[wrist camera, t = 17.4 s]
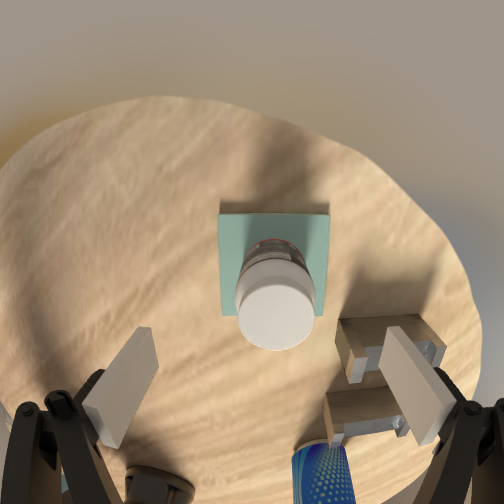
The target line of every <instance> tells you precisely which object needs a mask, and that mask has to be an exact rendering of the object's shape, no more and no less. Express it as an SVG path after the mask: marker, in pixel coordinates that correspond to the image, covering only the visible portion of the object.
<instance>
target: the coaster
mask: <svg viewBox="0 0 504 504" xmlns="http://www.w3.org/2000/svg"><path fill="white" fill-rule="evenodd" d="M217 217H218V244H219V266H220V286H221V303H222V315H223V316H238V312H237V309H236V306H235V289H236V285H237V281H238V278H239V274H240V270H241V267H242V263H243V260H244V257H245V255H246V254H247V252H248V251H249V249H250V248H251V247H252V246H254V245H255V244H256V243H258V242H260V241H262V240H265V239H271V238H277V239H282V240H285V241H288V242H290V243H291V244H293V245H294V246H295V247H296V248H297V249H298V250H299V251H300V253H301V254H302V256H303V258H304V260H305V263H306V266H307V268H308V271H309V273H310V276H311V278H312V281H313V283H314V287H315V293H316V300H315V306H314V311H315V316H323V307H324V297H325V286H326V274H327V261H328V245H329V227H330V215H329V214H315V213H219V214H218V215H217Z"/></svg>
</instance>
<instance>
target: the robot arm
mask: <svg viewBox="0 0 504 504" xmlns="http://www.w3.org/2000/svg"><path fill="white" fill-rule="evenodd" d="M378 367H379V368H380V370H381V372H382V374H383V376H384V378H385V380H386V381H387V383H388V385H389V387H390V389H391V391H392V393H393V395H394V397H395V399H396V401H397V403H398V405H399V406H400V408H401V410H402V412H403V414H404V416H405V418H406V420H407V422H408V424H409V426H410V429H411V431H412V433H413V435H414V437H415V439H416V441H417V443H418V445H419V446H423V445H426V444H429V443H432V442H433V441H434V439H435V438H436V436H437V435H439V437H440V439H441V440H440V441H439V443H438V444H437V446H436V447H435V449H434V450H433V452H432V454H434V456H433V459H432V461H431V464H430V466H429V469H428V472H427V474H426V476H425V478H424V481H423V483H422V485H421V487H420V490H419V492H418V494H417V496H416V498H415V500H414V502H413V504H464V500H465V498H466V494H467V491H468V488H469V484H470V481H471V477H472V497H471V504H504V398H500V399H499V400H497V402H496V404H495V405H494V407H486V408H483V407H482V406H481V405H480V404H479V403H478V402H475V401H470V400H469V401H467V400H466V399H465V397H464V396H463V395H462V393H461V392H460V391H459V389H458V388H457V387H456V385H455V384H453V382H452V380H451V379H450V378H449V376H448V375H447V374H446V373H445V371H443V370H442V369H440V368H439V367H433V368H432V367H431V365H430V364H429V363H428V361H427V360H426V359H425V358H424V356H423V355H422V354H421V352H420V351H419V350H418V349H417V347H416V346H415V345H414V344H413V342H412V341H411V340H410V339H409V337H408V336H407V335H406V334H405V332H404V331H403V330H402V329H401V327H400V326H393V327H388V328H387V332H386V337H385V341H384V345H383V349H382V353H381V357H380V361H379V365H378ZM158 368H159V365H158V360H157V355H156V351H155V346H154V341H153V336H152V331H151V328H150V327H138V328H137V329H136V331H135V332H134V333H133V335H132V336H131V337H130V338H129V340H128V341H127V342H126V344H125V345H124V346H123V348H122V349H121V350H120V352H119V353H118V354H117V356H116V357H115V358H114V360H113V361H112V362H111V364H110V365H109V366H108V368H107V369H106V370H103V369H99V370H97V371H96V372H94V373H93V374H92V375H91V376H90V377H89V379H88V380H87V382H86V383H85V384H84V385H83V387H82V388H81V389H80V390H79V392H78V393H77V394H76V396H75V397H74V398H73V400H72V398H71V396H70V394H69V393H68V392H67V391H64V390H55V391H53V392H51V393H49V394H48V395H47V396H46V397H45V400H44V403H45V405H46V407H47V409H48V411H41V410H40V409H39V407H38V405H37V404H36V403H34V402H30V401H29V402H25V403H22V404H21V405H20V406H19V407H18V408H17V410H16V414H15V417H14V421H13V425H12V429H11V434H10V438H9V443H8V448H7V454H6V459H5V466H4V472H3V480H2V490H1V503H0V504H191V503H192V501H193V499H194V495H195V489H194V488H193V487H192V486H191V485H190V484H189V483H187V482H186V481H184V480H182V479H180V478H178V477H176V476H174V475H172V474H169V473H166V472H164V471H161V470H157V469H153V468H149V467H143V466H133V467H130V468H129V469H128V471H127V473H126V476H125V501H124V503H123V501H122V499H121V497H120V495H119V493H118V491H117V489H116V487H115V485H114V483H113V481H112V479H111V476H110V474H109V472H108V470H107V467H106V465H105V462H104V460H103V457H102V455H101V452H100V450H99V447H98V445H97V444H96V443H97V441H98V439H99V438H100V440H101V441H102V443H103V445H105V446H109V447H112V448H116V449H118V448H119V446H120V444H121V442H122V440H123V438H124V436H125V434H126V432H127V430H128V428H129V426H130V424H131V421H132V419H133V417H134V415H135V413H136V411H137V409H138V407H139V405H140V403H141V401H142V399H143V397H144V395H145V393H146V391H147V389H148V387H149V385H150V383H151V381H152V379H153V377H154V375H155V373H156V371H157V370H158ZM434 452H435V453H434ZM61 464H62V468H63V472H64V474H61Z"/></svg>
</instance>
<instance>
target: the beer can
mask: <svg viewBox="0 0 504 504" xmlns="http://www.w3.org/2000/svg"><path fill="white" fill-rule="evenodd" d="M292 476H293V501H294V504H356V501H355V495H354V490H353V485H352V480H351V475H350V470H349V465H348V460H347V456H346V451H345V448H344V447H343V446H342V445H340V447H339V448H329V443H328V439H317V440H313V441H309V442H307V443H305V444H303V445H301V446H300V447H299V448H298V449H297V451H296V452H295V453H294V455H293V456H292Z"/></svg>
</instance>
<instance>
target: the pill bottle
mask: <svg viewBox="0 0 504 504" xmlns="http://www.w3.org/2000/svg"><path fill="white" fill-rule="evenodd" d="M315 300H316V293H315V287H314V283H313V281H312V278H311V276H310V273H309V271H308V268H307V266H306V263H305V260H304V258H303V256H302V254H301V253H300V251H299V250H298V249H297V248H296V247H295V246H294V245H293V244H291V243H290V242H288V241H285V240H282V239H277V238H271V239H265V240H262V241H260V242H258V243H256V244H255V245H254V246H252V247H251V248H250V249H249V251H248V252H247V254H246V255H245V257H244V260H243V263H242V267H241V270H240V274H239V278H238V281H237V285H236V289H235V306H236V309H237V312H238V323H239V327H240V329H241V332H242V333H243V335H244V336H245V337H246V338H247V340H249V341H250V342H251V343H252V344H254V345H256V346H258V347H260V348H263V349H266V350H273V351H277V350H285V349H289V348H292V347H294V346H296V345H298V344H299V343H301V342H302V341H303V340H304V339H305V338H306V337H307V336H308V335H309V333H310V332H311V330H312V328H313V325H314V321H315V311H314V306H315Z"/></svg>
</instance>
